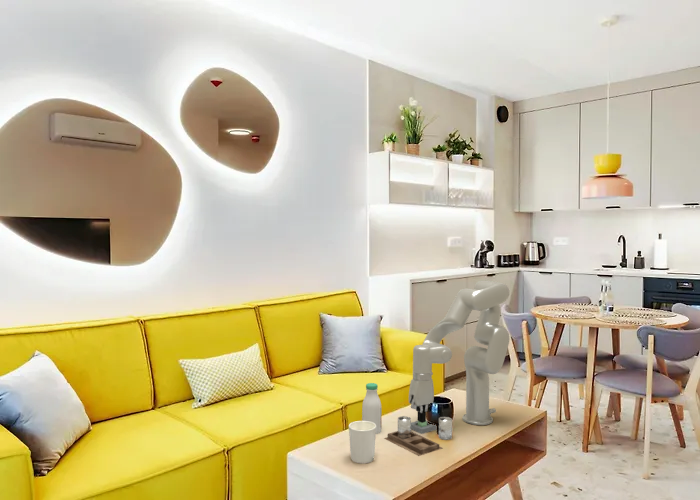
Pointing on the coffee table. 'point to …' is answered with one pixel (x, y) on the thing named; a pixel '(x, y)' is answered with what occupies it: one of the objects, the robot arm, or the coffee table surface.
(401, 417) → the cylinder
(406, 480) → the coffee table surface
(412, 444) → the brown cruet tray
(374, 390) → the milk bottle
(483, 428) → the coffee table surface
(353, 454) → the white cup
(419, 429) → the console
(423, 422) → the button
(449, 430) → the silver rounded cylinder
